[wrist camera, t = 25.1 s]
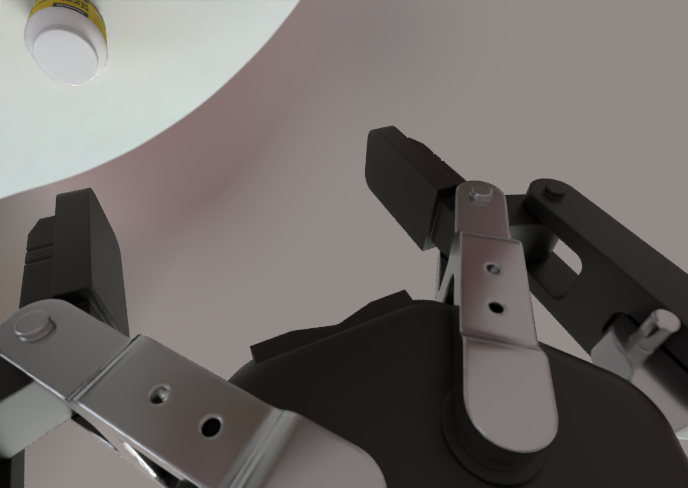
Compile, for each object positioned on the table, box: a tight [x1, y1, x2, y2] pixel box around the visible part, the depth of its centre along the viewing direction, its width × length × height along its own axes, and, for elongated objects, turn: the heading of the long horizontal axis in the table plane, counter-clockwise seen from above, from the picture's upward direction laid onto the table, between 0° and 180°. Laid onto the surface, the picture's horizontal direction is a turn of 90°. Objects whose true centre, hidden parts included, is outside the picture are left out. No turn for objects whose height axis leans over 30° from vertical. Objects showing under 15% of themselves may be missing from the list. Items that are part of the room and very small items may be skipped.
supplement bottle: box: [24, 0, 108, 86], centre depth 33 cm, size 5×5×10 cm
